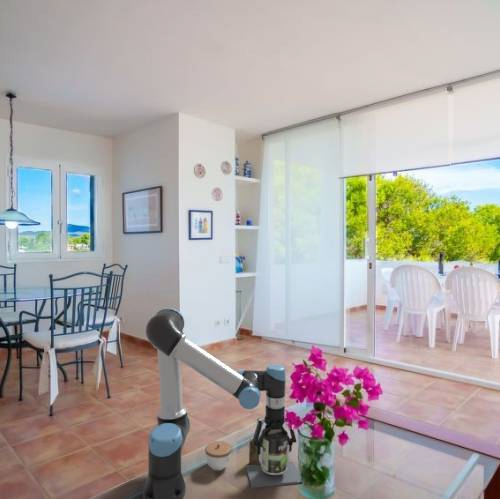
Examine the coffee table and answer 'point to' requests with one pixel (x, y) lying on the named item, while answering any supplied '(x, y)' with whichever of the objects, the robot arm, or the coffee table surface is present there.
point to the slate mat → (271, 476)
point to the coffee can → (274, 452)
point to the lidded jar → (218, 454)
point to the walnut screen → (253, 453)
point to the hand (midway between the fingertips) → (273, 460)
